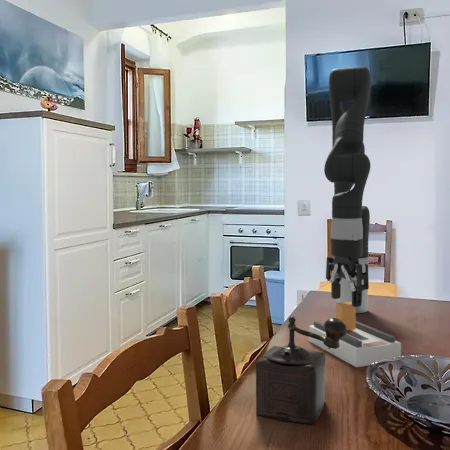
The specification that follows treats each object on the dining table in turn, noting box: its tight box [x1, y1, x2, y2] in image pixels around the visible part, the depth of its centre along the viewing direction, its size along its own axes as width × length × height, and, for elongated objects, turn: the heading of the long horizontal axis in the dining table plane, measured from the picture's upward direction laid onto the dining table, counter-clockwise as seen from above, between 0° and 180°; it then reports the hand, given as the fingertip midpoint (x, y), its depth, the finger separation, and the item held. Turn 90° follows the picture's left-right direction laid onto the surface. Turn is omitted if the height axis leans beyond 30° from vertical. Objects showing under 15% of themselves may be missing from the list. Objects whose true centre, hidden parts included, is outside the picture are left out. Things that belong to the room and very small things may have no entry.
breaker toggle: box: [335, 302, 357, 331], centre depth 121 cm, size 2×4×6 cm, turn 111°
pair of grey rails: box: [313, 320, 396, 348], centre depth 118 cm, size 18×10×1 cm, turn 21°
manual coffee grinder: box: [255, 315, 347, 425], centre depth 86 cm, size 16×11×18 cm
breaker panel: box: [308, 324, 402, 368], centre depth 119 cm, size 20×12×4 cm, turn 21°
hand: (345, 302), depth 121 cm, fingers open, 8 cm apart
